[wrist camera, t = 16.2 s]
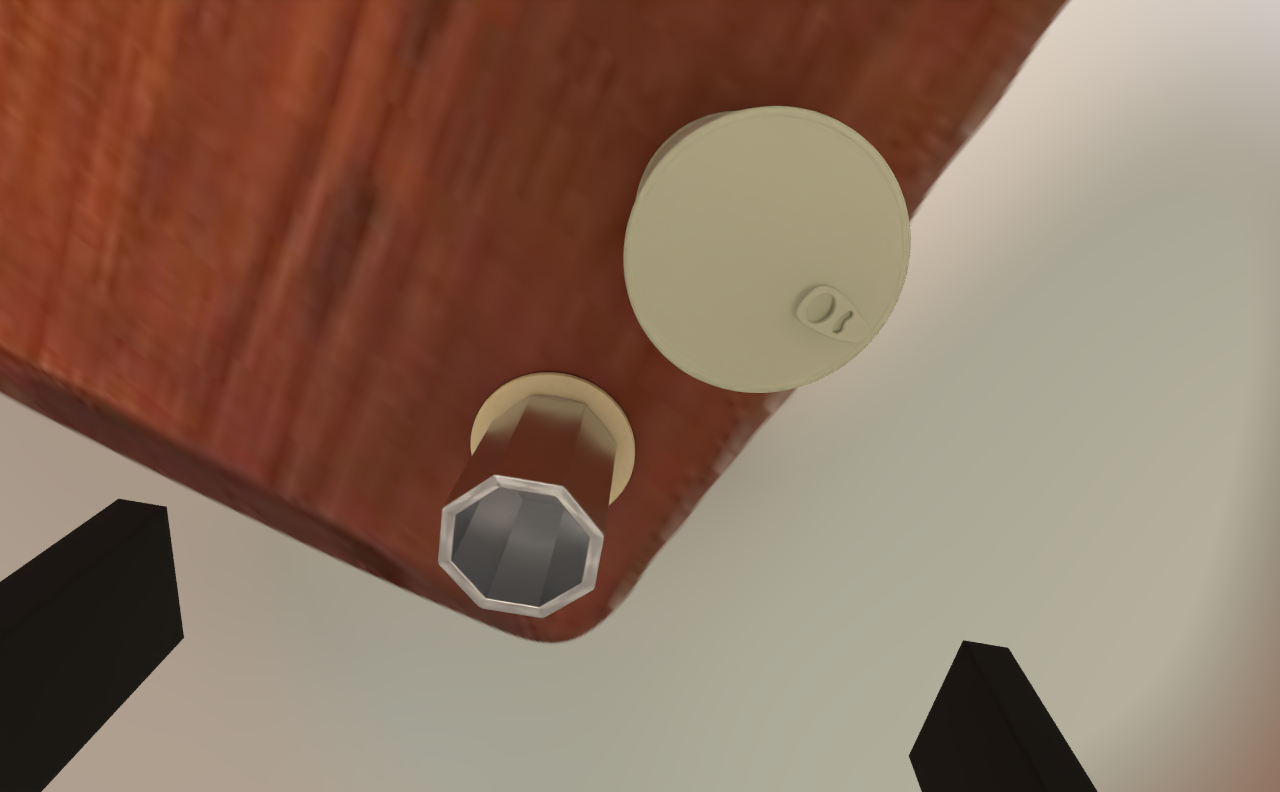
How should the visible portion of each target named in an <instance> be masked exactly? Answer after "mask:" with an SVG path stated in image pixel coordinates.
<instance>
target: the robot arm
mask: <svg viewBox="0 0 1280 792" xmlns="http://www.w3.org/2000/svg"><path fill="white" fill-rule="evenodd" d="M183 638H184V635H183V627H182V620H181V613H180V605H179V597H178V589H177V582H176V575H175V567H174V559H173V552H172V544H171V537H170V529H169V522H168V514H167V507H165V506H159V505H153V504H147V503H141V502H135V501H129V500H123V499H118V500H116V501H115V502H113V503H112V504H111V505H109V506H108V507H106V508H105V509H104V510H102V511H100V512H99V513H98V514H96V515H95V516H93V517H92V518H91V519H89V520H88V521H86V522H85V523H83V524H82V525H81V526H79V527H78V528H76V529H75V530H74V531H72V532H71V533H69V534H68V535H66V536H65V537H64V538H62V539H61V540H59V541H58V542H57V543H55V544H54V545H52V546H51V547H49V548H48V549H46V550H45V551H44V552H42V553H41V554H39V555H38V556H37V557H35V558H34V559H32V560H31V561H29V562H28V563H27V564H25V565H24V566H23V567H21V568H20V569H18V570H17V571H15V572H14V573H12V574H11V575H9V576H8V577H7V578H5V579H4V580H2V581H1V582H0V792H41V791H42V790H43V789H44V788H45V787H46V786H47V785H48V784H49V783H50V782H51V781H52V780H53V779H54V777H55V776H56V775H57V774H58V773H59V772H60V771H61V770H62V769H63V768H64V767H65V766H66V764H67V763H68V762H69V761H70V760H71V759H72V758H73V757H74V756H75V755H76V754H77V753H78V751H79V750H80V749H81V748H82V747H83V746H84V745H85V744H86V743H87V742H88V741H89V740H90V739H91V737H92V736H93V735H94V734H95V733H96V732H97V731H98V730H99V729H100V728H101V727H102V726H103V725H104V723H105V722H106V721H107V720H108V719H109V718H110V717H111V716H112V715H113V714H114V712H116V710H117V709H118V708H119V707H120V706H121V705H122V704H123V703H124V702H125V701H126V700H127V698H129V696H130V695H131V694H132V693H133V692H134V691H135V690H136V689H137V688H138V686H139V685H141V683H142V682H143V681H144V680H145V679H146V678H147V677H148V676H149V675H150V674H151V672H152V671H154V669H155V668H156V667H157V666H158V665H159V664H160V663H161V662H162V661H163V660H164V659H165V658H166V656H167V655H168V654H169V653H170V652H171V651H172V650H173V649H174V648H175V647H176V646H177V645H178V644H179V642H180V641H181V640H182V639H183ZM909 758H910V760H911V763H912V766H913V768H914V771H915V774H916V777H917V780H918V782H919V785H920V788H921V791H922V792H1097V790H1096V788H1095V787H1094V785H1093V784H1092V782H1091V780H1090V779H1089V777H1088V776H1087V774H1086V772H1085V771H1084V769H1083V768H1082V766H1081V764H1080V763H1079V761H1078V759H1077V758H1076V756H1075V755H1074V753H1073V751H1072V750H1071V748H1070V747H1069V745H1068V743H1067V742H1066V740H1065V739H1064V737H1063V735H1062V734H1061V732H1060V731H1059V729H1058V727H1057V726H1056V724H1055V722H1054V721H1053V719H1052V718H1051V716H1050V714H1049V713H1048V711H1047V710H1046V708H1045V706H1044V705H1043V703H1042V702H1041V700H1040V698H1039V697H1038V695H1037V693H1036V692H1035V690H1034V689H1033V687H1032V685H1031V684H1030V682H1029V681H1028V679H1027V677H1026V676H1025V674H1024V672H1023V671H1022V669H1021V668H1020V666H1019V665H1018V663H1017V661H1016V660H1015V658H1014V657H1013V655H1012V653H1011V651H1010V650H1009V649H1008V648H1006V647H1000V646H993V645H988V644H982V643H976V642H969V641H963V642H962V644H961V646H960V648H959V650H958V652H957V655H956V657H955V659H954V661H953V663H952V665H951V668H950V670H949V672H948V674H947V676H946V678H945V680H944V682H943V684H942V687H941V689H940V691H939V693H938V695H937V697H936V699H935V701H934V703H933V706H932V708H931V710H930V712H929V714H928V716H927V719H926V721H925V723H924V725H923V727H922V729H921V731H920V733H919V735H918V738H917V740H916V742H915V744H914V746H913V748H912V750H911V752H910V754H909Z"/></svg>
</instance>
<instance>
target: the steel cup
mask: <svg viewBox="0 0 1280 792" xmlns="http://www.w3.org/2000/svg"><path fill="white" fill-rule="evenodd" d="M616 447H617V444H616V442H615V441H614V440H613V439H612V437H611V436H610V435H609V433H608V431H607V429H606V427H605V426H604V424H603V423H602V421H601V420H600V419H599V418H598V417H597V416H596V415H595V414H594V413H593V412H592V411H591V410H590V409H589V408H588V406H587V405H585V404H583V403H578V402H575V401H573V400H570V399H567V398H562V397H556V396H538V395H531V396H529V397H528V398H526V399H525V400H523V401H521V402H519V403H517V404H515V405H514V406H512V407H511V408H509V409H508V410H507V411H506V412H505V413H504V414H502V415H501V416H499V417H498V418H496V419H495V420H493V421H492V422H491V424H490V425H489V427H488V429H487V431H486V432H485V434H484V436H483V438H482V440H481V441H480V443H479V445H478V447H477V448H476V450H475V452H474V454H473V455H472V457H471V459H470V461H469V462H468V464H467V466H466V468H465V469H464V471H463V473H462V475H461V476H460V478H459V480H458V482H457V484H456V485H455V487H454V489H453V491H452V492H451V494H450V496H449V498H448V499H447V501H446V503H445V505H444V506H443V508H442V516H441V529H440V541H439V554H438V563H439V565H440V566H441V567H442V568H443V569H444V570H445V572H446V573H447V574H448V575H449V576H450V577H451V578H452V579H453V580H454V581H455V582H456V583H457V584H458V585H459V586H460V587H461V588H462V589H463V591H464V592H465V593H466V594H467V595H468V596H469V597H470V598H471V599H472V600H473V601H474V602H475V603H476V604H477V605H478V606H479V607H480V608H483V609H489V610H495V611H502V612H508V613H514V614H520V615H526V616H532V617H538V618H544V617H546V616H548V615H549V614H551V613H553V612H555V611H557V610H558V609H560V608H562V607H564V606H565V605H567V604H569V603H571V602H573V601H574V600H576V599H578V598H580V597H582V596H583V595H585V594H587V593H589V592H590V591H592V590H593V589H594V588H595V583H596V578H597V573H598V567H599V562H600V557H601V552H602V546H603V541H604V536H605V528H606V521H607V514H608V506H609V499H610V491H611V484H612V477H613V469H614V462H615V455H616Z"/></svg>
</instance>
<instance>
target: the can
mask: <svg viewBox="0 0 1280 792" xmlns="http://www.w3.org/2000/svg"><path fill="white" fill-rule="evenodd" d="M910 238H911V237H910V224H909V217H908V212H907V208H906V204H905V200H904V197H903V194H902V191H901V189H900V186H899V184H898V182H897V180H896V178H895V176H894V174H893V172H892V171H891V169H890V167H889V166H888V164H887V163H886V161H885V160H884V158H883V157H882V156H881V155H880V154H879V152H878V151H877V150H876V149H875V148H874V147H873V146H872V145H871V144H870V143H869V142H868V141H867V140H866V139H865V138H864V137H862V136H861V135H860V134H858V133H857V132H856V131H855V130H853V129H852V128H850V127H848V126H847V125H845V124H843V123H842V122H840V121H838V120H836V119H834V118H831V117H829V116H827V115H824V114H821V113H818V112H815V111H811V110H808V109H803V108H797V107H788V106H766V107H756V108H749V109H744V110H740V111H726V112H719V113H715V114H711V115H707V116H705V117H702V118H699V119H697V120H695V121H693V122H691V123H689V124H687V125H685V126H684V127H682V128H681V129H679V130H678V131H676V132H675V133H674V134H673V135H672V136H670V137H669V138H668V139H667V140H666V141H665V142H664V143H663V144H662V145H661V147H660V148H659V149H658V150H657V151H656V153H655V154H654V155H653V157H652V158H651V160H650V162H649V163H648V165H647V167H646V169H645V171H644V173H643V175H642V178H641V181H640V184H639V187H638V191H637V195H636V200H635V203H634V205H633V208H632V211H631V214H630V217H629V220H628V224H627V229H626V233H625V241H624V253H623V262H624V276H625V283H626V288H627V292H628V296H629V299H630V302H631V305H632V308H633V310H634V313H635V315H636V317H637V319H638V321H639V323H640V325H641V327H642V329H643V330H644V332H645V333H646V335H647V336H648V338H649V339H650V340H651V342H652V343H653V344H654V345H655V347H656V348H657V349H658V350H659V351H660V352H661V353H662V354H663V355H664V356H665V357H666V358H667V359H668V360H669V361H670V362H672V363H673V364H674V365H676V366H677V367H678V368H680V369H681V370H682V371H684V372H686V373H687V374H689V375H691V376H692V377H694V378H697V379H699V380H701V381H703V382H705V383H708V384H710V385H713V386H717V387H720V388H723V389H728V390H733V391H738V392H749V393H768V392H778V391H784V390H789V389H793V388H797V387H800V386H803V385H806V384H809V383H812V382H814V381H817V380H819V379H821V378H823V377H825V376H827V375H829V374H831V373H833V372H834V371H836V370H838V369H839V368H841V367H842V366H844V365H845V364H846V363H848V362H849V361H850V360H852V359H853V358H854V357H856V356H857V355H858V354H859V353H860V352H861V351H862V350H863V349H864V348H865V347H866V346H867V345H868V344H869V343H870V342H871V341H872V339H874V337H875V336H876V335H877V334H878V332H879V331H880V330H881V328H882V327H883V326H884V324H885V323H886V321H887V319H888V318H889V316H890V314H891V313H892V311H893V309H894V307H895V305H896V303H897V301H898V298H899V296H900V293H901V290H902V288H903V285H904V282H905V278H906V274H907V269H908V264H909V256H910Z"/></svg>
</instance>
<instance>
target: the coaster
mask: <svg viewBox="0 0 1280 792" xmlns="http://www.w3.org/2000/svg"><path fill="white" fill-rule="evenodd" d="M531 395H538V396H556V397H562V398H567V399H570V400H573V401H575V402H578V403H583V404H585V405H587V406H588V408H589V409H590V410H591V411H592V412H593V413H594V414H595V415H596V416H597V417H598V418H599V419H600V420H601V421H602V423H603V424H604V426H605V427H606V429H607V431H608V433H609V435H610V436H611V437H612V439H613V440H614V441H615V442H616V444H617V447H616V455H615V462H614V469H613V477H612V484H611V491H610V499H609V505H610V504H611V503H612V502H613V501H614V500H615V499H616V498H617V497H618V496H619V495H620V494H621V492H622V491H623V490H624V488H625V486H626V485H627V483H628V481H629V479H630V476H631V474H632V470H633V467H634V460H635V441H634V435H633V432H632V428H631V425H630V423H629V421H628V419H627V417H626V415H625V413H624V412H623V410H622V409H621V407H620V406H619V405H618V404H617V403H616V401H615V400H614V399H613V398H612V397H611V396H610V395H608V394H607V393H606V392H605V391H604V390H602V389H601V388H599V387H598V386H596V385H595V384H593V383H591V382H589V381H587V380H585V379H582V378H579V377H577V376H573V375H569V374H565V373H557V372H540V373H533V374H528V375H525V376H521V377H518V378H516V379H514V380H511V381H509V382H508V383H506V384H504V385H502V386H501V387H500V388H499V389H497V390H496V391H495V392H494V393H493V394H492V395H491V396H490V397H489V398H488V399H487V400H486V401H485V403H484V404H483V406H482V407H481V409H480V410H479V412H478V414H477V416H476V418H475V421H474V424H473V427H472V433H471V454H472V455H473V454H474V452H475V450H476V448H477V447H478V445H479V443H480V441H481V440H482V438H483V436H484V434H485V432H486V431H487V429H488V427H489V425H490V424H491V422H492V421H493V420H495V419H496V418H498V417H499V416H501V415H502V414H504V413H505V412H506V411H507V410H508V409H509V408H511V407H512V406H514V405H515V404H517V403H519V402H521V401H523V400H525V399H526V398H528V397H529V396H531Z"/></svg>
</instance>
